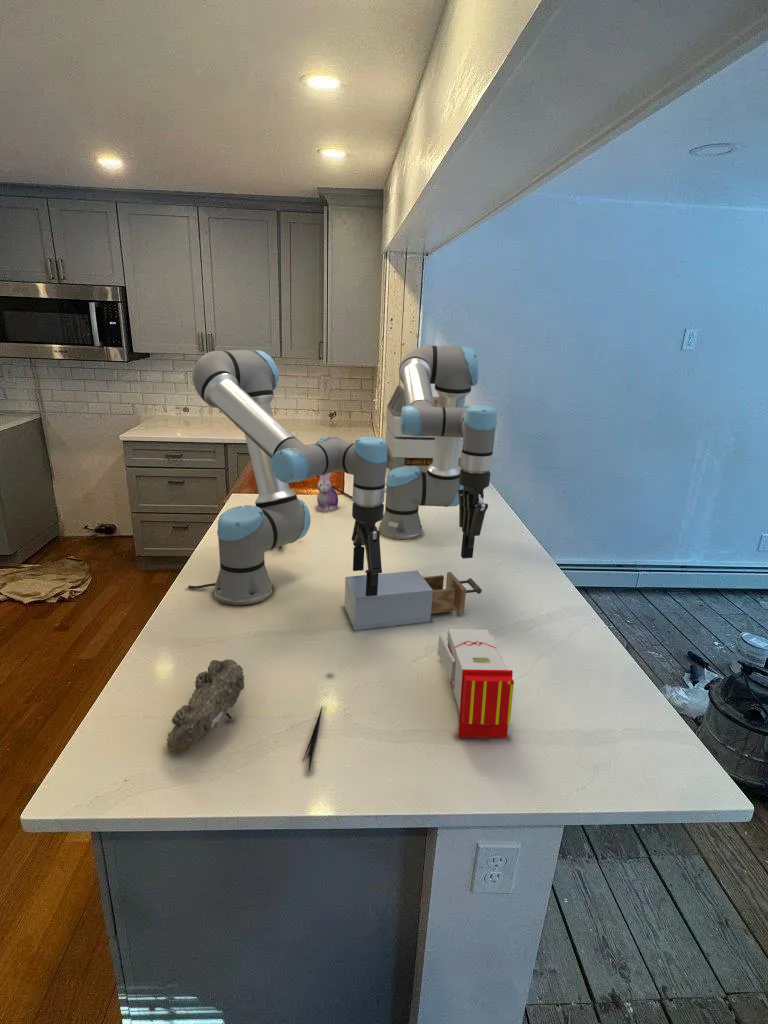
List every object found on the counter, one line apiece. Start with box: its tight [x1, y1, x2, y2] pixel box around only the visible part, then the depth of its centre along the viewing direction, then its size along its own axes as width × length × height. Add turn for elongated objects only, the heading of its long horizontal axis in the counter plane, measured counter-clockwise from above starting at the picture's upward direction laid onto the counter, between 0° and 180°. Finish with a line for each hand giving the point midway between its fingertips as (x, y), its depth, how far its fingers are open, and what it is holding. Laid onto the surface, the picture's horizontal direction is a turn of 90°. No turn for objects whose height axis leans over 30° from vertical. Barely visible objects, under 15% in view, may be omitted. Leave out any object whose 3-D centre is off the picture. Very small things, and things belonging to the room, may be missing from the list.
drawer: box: [422, 571, 483, 614], centre depth 149 cm, size 24×10×7 cm, turn 106°
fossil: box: [166, 658, 245, 754], centre depth 106 cm, size 22×10×15 cm
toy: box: [437, 628, 515, 738], centre depth 117 cm, size 12×13×30 cm
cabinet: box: [344, 570, 433, 631], centre depth 146 cm, size 20×12×9 cm, turn 106°
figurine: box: [316, 473, 339, 512], centre depth 219 cm, size 9×10×15 cm
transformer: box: [384, 384, 463, 471], centre depth 268 cm, size 34×33×41 cm
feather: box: [301, 673, 332, 771], centre depth 108 cm, size 2×28×2 cm
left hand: (364, 582), depth 142 cm, fingers open, 13 cm apart
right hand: (466, 556), depth 148 cm, fingers closed
